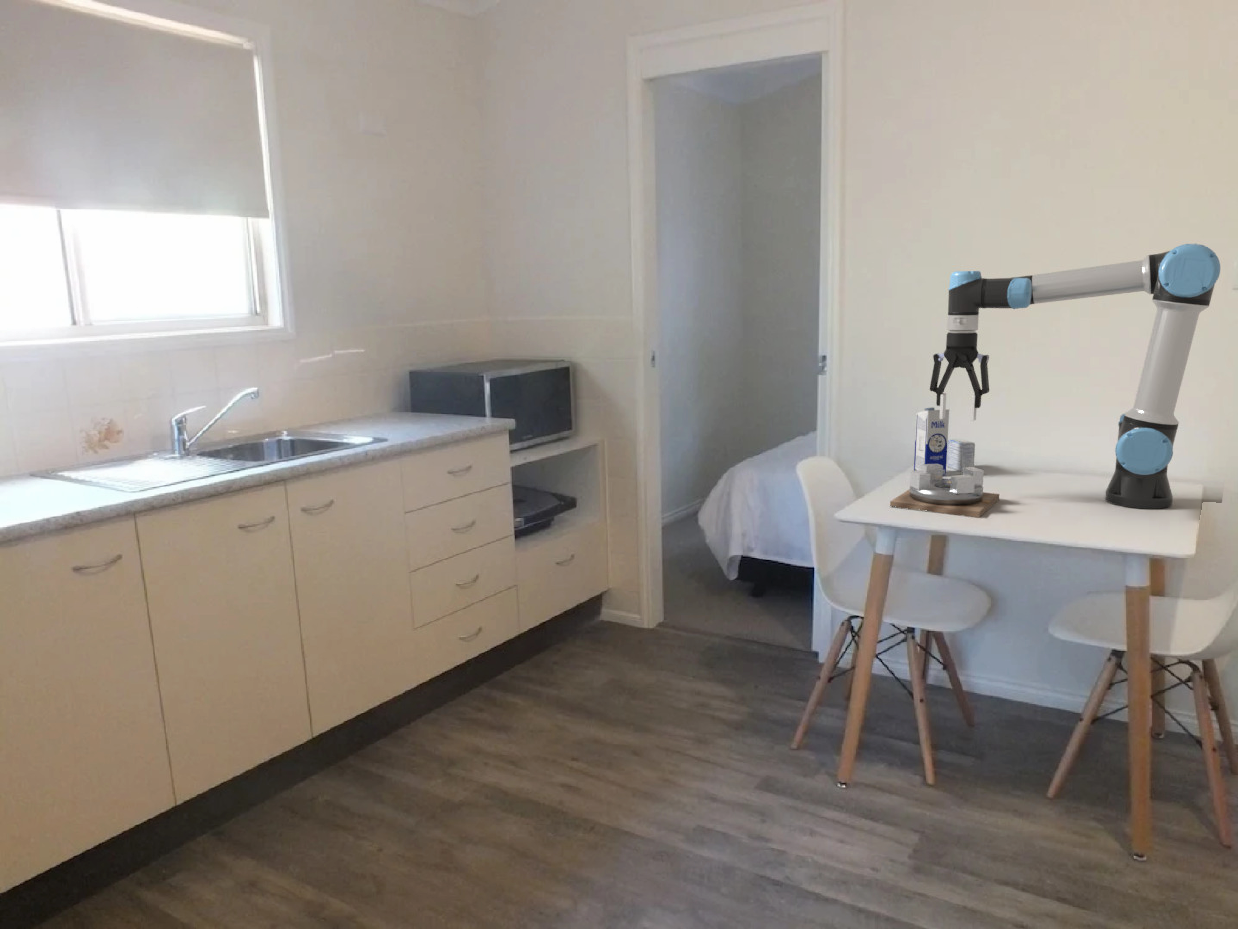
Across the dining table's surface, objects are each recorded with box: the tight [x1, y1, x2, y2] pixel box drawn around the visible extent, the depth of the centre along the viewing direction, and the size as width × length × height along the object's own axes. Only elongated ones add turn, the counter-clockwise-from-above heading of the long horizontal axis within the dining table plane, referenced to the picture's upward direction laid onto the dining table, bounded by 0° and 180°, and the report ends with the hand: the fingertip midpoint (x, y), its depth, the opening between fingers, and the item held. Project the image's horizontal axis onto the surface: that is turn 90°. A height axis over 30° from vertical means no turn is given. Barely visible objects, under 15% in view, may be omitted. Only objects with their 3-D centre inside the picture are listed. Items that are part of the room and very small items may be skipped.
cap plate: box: [889, 488, 1000, 518], centre depth 243 cm, size 22×22×2 cm
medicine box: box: [946, 438, 976, 472], centre depth 284 cm, size 8×4×9 cm, turn 14°
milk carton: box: [913, 407, 950, 476], centre depth 277 cm, size 7×7×20 cm
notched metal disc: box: [909, 464, 985, 505], centre depth 242 cm, size 18×18×7 cm
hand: (957, 419), depth 245 cm, fingers open, 7 cm apart
